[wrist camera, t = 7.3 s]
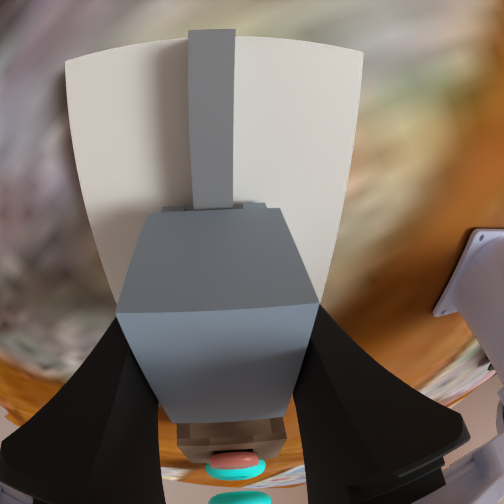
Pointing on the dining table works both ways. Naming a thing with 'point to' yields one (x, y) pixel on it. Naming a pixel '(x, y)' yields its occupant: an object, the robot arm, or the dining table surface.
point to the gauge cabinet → (231, 438)
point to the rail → (214, 136)
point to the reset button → (234, 460)
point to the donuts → (244, 500)
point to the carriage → (218, 312)
